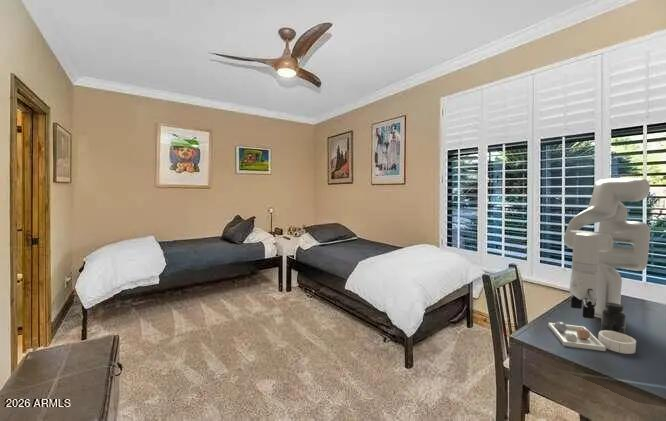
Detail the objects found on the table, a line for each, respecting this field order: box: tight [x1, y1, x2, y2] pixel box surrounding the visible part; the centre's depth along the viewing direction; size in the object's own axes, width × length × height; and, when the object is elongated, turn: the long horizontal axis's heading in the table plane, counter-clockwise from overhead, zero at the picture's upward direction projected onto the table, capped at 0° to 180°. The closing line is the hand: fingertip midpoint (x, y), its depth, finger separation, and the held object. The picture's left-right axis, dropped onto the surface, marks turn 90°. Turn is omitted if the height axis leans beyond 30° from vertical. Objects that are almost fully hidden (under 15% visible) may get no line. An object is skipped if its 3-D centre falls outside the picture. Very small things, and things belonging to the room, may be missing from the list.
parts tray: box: [548, 322, 607, 352], centre depth 114 cm, size 16×12×2 cm
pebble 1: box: [554, 320, 567, 332], centre depth 119 cm, size 4×4×4 cm
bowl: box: [597, 330, 637, 355], centre depth 108 cm, size 10×10×4 cm
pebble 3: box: [577, 328, 590, 339], centre depth 113 cm, size 4×4×4 cm
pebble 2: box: [565, 333, 577, 342], centre depth 110 cm, size 3×3×3 cm
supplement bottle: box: [600, 302, 627, 335], centre depth 117 cm, size 7×7×12 cm
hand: (581, 312), depth 112 cm, fingers open, 9 cm apart
